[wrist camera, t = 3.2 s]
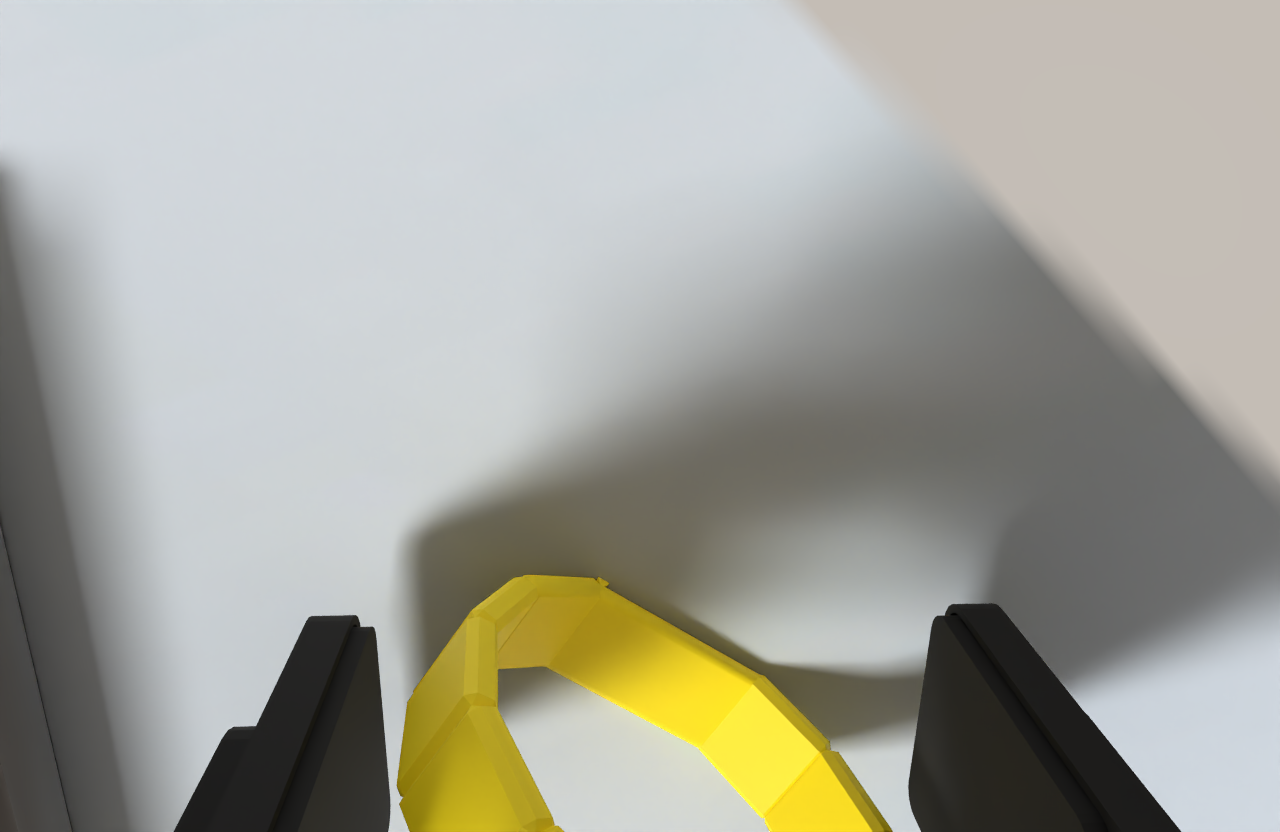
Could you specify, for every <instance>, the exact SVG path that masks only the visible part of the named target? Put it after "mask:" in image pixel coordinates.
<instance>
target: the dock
mask: <svg viewBox="0 0 1280 832" xmlns="http://www.w3.org/2000/svg"><path fill="white" fill-rule="evenodd" d="M0 832H72V830H71V825H70V821H69V817H68V812H67V808H66V804H65V800H64V795H63V791H62V787H61V783H60V778H59V774H58V770H57V765H56V761H55V757H54V753H53V748H52V744H51V740H50V735H49V731H48V727H47V723H46V718H45V714H44V710H43V705H42V701H41V697H40V693H39V688H38V684H37V680H36V675H35V671H34V667H33V663H32V658H31V654H30V650H29V646H28V641H27V637H26V633H25V628H24V624H23V620H22V616H21V611H20V607H19V603H18V598H17V594H16V590H15V586H14V581H13V577H12V573H11V568H10V564H9V560H8V556H7V551H6V547H5V543H4V538H3V534H2V530H1V526H0Z"/></svg>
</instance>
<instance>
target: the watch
mask: <svg viewBox="0 0 1280 832" xmlns="http://www.w3.org/2000/svg"><path fill="white" fill-rule="evenodd" d="M608 585H609V583H608V582H607V581H605V580H603V579H601V578H600V577H598V578H597V580H595V579H594V578H585V577H566V576H547V575H523V577H514V578H513V579H511V580H510V581H509V582H507V583H506V584H505V585H504V586H502V587H501V588H500V589H498V590H497V591H496V592H494V593H493V594H492V595H491V596H489V597H488V598H487V599H485V600H484V601H483V602H481V603H480V604H479V605H477V606H476V607H475V608H474V609H472V610H471V612H470V613H469V614H468V616H467V617H466V619H465V620H464V621H463V623H462V624H461V625H460V627H459V628H458V630H457V631H456V632H455V634H454V635H453V637H452V638H451V639H450V641H449V642H448V643H447V645H446V646H445V648H444V649H443V650H442V652H441V653H440V655H439V656H438V657H437V659H436V660H435V661H434V663H433V664H432V666H431V667H430V668H429V670H428V671H427V673H426V674H425V675H424V677H423V678H422V679H421V681H420V682H419V684H418V685H417V686H416V688H415V689H414V691H413V695H412V696H411V698H410V699H409V700H408V702H407V709H406V717H405V724H404V732H403V740H402V747H401V755H400V763H399V770H398V778H397V788H398V791H399V794H400V796H402V797H403V798H402V800H401V802H400V804H399V805H400V808H401V810H402V813H403V815H404V818H405V821H406V823H407V826H408V829H409V831H410V832H564V831H563V830H562V829H561V828H560V827H559V826H554V825H555V824H554V821H553V817H552V815H551V813H550V811H549V809H548V807H547V805H546V803H545V802H544V800H543V798H542V796H541V794H540V792H539V790H538V788H537V786H536V784H535V782H534V780H533V778H532V776H531V774H530V772H529V770H528V768H527V766H526V764H525V762H524V760H523V758H522V756H521V754H520V752H519V750H518V748H517V746H516V744H515V742H514V740H513V738H512V736H511V734H510V732H509V730H508V728H507V727H506V725H505V723H504V721H503V719H502V717H501V715H500V713H499V711H498V669H510V668H526V667H541V666H545V667H546V668H548V669H550V670H552V671H554V672H556V673H558V674H560V675H562V676H563V677H565V678H567V679H569V680H571V681H573V682H575V683H577V684H578V685H580V686H582V687H584V688H586V689H588V690H590V691H592V692H594V693H595V694H597V695H599V696H601V697H603V698H605V699H607V700H609V701H611V702H612V703H614V704H616V705H618V706H620V707H622V708H624V709H626V710H628V711H629V712H631V713H633V714H635V715H637V716H639V717H641V718H643V719H645V720H646V721H648V722H650V723H652V724H654V725H656V726H658V727H660V728H662V729H663V730H665V731H667V732H669V733H671V734H673V735H675V736H677V737H679V738H680V739H682V740H684V741H686V742H688V743H690V744H692V745H694V746H696V747H697V748H699V750H700V751H701V752H702V753H703V754H704V755H705V757H706V758H707V759H708V760H709V761H710V762H711V763H712V764H713V765H714V766H715V768H716V769H717V770H718V771H719V772H720V773H721V774H722V775H723V776H724V777H725V779H726V780H727V781H728V782H729V783H730V784H731V785H732V786H733V787H734V788H735V790H736V791H737V792H738V793H739V794H740V795H741V796H742V797H743V798H744V799H745V800H746V802H747V803H748V804H749V805H750V806H751V807H752V808H753V809H754V810H755V811H756V813H757V814H758V815H759V816H760V817H761V818H765V824H766V825H767V827H768V829H769V831H770V832H893V831H892V829H891V828H890V826H889V825H888V823H887V822H886V821H885V819H884V818H883V816H882V815H881V813H880V812H879V810H878V809H877V807H876V806H875V805H874V803H873V802H872V800H871V799H870V797H869V796H868V794H867V793H866V791H865V790H864V789H863V787H862V786H861V784H860V783H859V781H858V780H857V778H856V777H855V775H854V774H853V773H852V771H851V770H850V768H849V767H848V765H847V764H846V762H845V761H844V759H843V758H842V757H841V755H840V754H839V752H835V751H831V748H830V741H829V740H828V739H827V738H826V737H825V736H824V735H823V734H822V733H821V732H820V731H819V730H818V729H817V728H816V727H815V726H814V725H813V724H812V723H811V722H810V721H809V720H808V719H807V718H806V717H805V716H804V715H803V714H802V713H801V712H800V711H799V710H798V709H797V708H796V707H795V706H794V705H793V704H792V703H791V702H790V701H789V700H788V699H787V698H786V697H785V696H784V695H783V694H782V693H781V692H780V691H779V690H778V689H777V688H776V687H775V686H774V685H773V684H772V683H771V682H770V681H769V680H768V679H767V678H766V677H765V676H764V675H760V674H758V673H756V672H754V671H753V670H751V669H749V668H747V667H745V666H744V665H742V664H740V663H738V662H737V661H735V660H733V659H731V658H730V657H728V656H726V655H724V654H723V653H721V652H719V651H717V650H715V649H714V648H712V647H710V646H708V645H707V644H705V643H703V642H701V641H700V640H698V639H696V638H694V637H693V636H691V635H689V634H687V633H686V632H684V631H682V630H680V629H678V628H677V627H675V626H673V625H671V624H670V623H668V622H666V621H664V620H663V619H661V618H659V617H657V616H656V615H654V614H652V613H650V612H648V611H647V610H645V609H643V608H641V607H640V606H638V605H636V604H634V603H633V602H631V601H629V600H627V599H626V598H624V597H622V596H620V595H618V594H617V593H615V592H613V591H611V590H610V589H608V588H606V587H607V586H608Z"/></svg>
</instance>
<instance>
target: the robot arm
mask: <svg viewBox="0 0 1280 832" xmlns="http://www.w3.org/2000/svg"><path fill="white" fill-rule="evenodd" d="M908 789H909V800H910V805H911V809H912V812H913V815H914V817H915V819H916V821H917V824H918V826H919V828H920V830H921V832H1181V831H1180V830H1179V828H1178V827H1177V826H1176V825H1175V823H1174V822H1173V821H1172V820H1171V818H1170V817H1169V816H1168V815H1167V813H1166V812H1165V811H1164V810H1163V808H1162V807H1161V806H1160V805H1159V803H1158V802H1157V801H1156V800H1155V798H1154V797H1153V796H1152V795H1151V793H1150V792H1149V791H1148V790H1147V788H1146V787H1145V786H1144V785H1143V783H1142V782H1141V781H1140V780H1139V778H1138V777H1137V776H1136V775H1135V773H1134V772H1133V771H1132V770H1131V769H1130V767H1129V766H1128V765H1127V764H1126V762H1125V761H1124V760H1123V759H1122V757H1121V756H1120V755H1119V754H1118V752H1117V751H1116V750H1115V749H1114V747H1113V746H1112V745H1111V744H1110V742H1109V741H1108V740H1107V739H1106V737H1105V736H1104V735H1103V734H1102V732H1101V731H1100V730H1099V729H1098V727H1097V726H1096V725H1095V724H1094V722H1093V721H1092V720H1091V719H1090V717H1089V716H1088V715H1087V714H1086V713H1085V712H1084V711H1083V710H1082V709H1081V707H1080V706H1079V705H1078V704H1077V702H1076V701H1075V700H1074V699H1073V697H1072V696H1071V695H1070V694H1069V692H1068V691H1067V690H1066V689H1065V687H1064V686H1063V685H1062V684H1061V682H1060V681H1059V680H1058V679H1057V677H1056V676H1055V675H1054V674H1053V672H1052V671H1051V670H1050V669H1049V667H1048V666H1047V665H1046V664H1045V662H1044V661H1043V660H1042V659H1041V657H1040V656H1039V655H1038V654H1037V652H1036V651H1035V650H1034V649H1033V647H1032V646H1031V645H1030V644H1029V642H1028V641H1027V640H1026V639H1025V637H1024V636H1023V635H1022V634H1021V632H1020V631H1019V630H1018V629H1017V627H1016V626H1015V625H1014V624H1013V622H1012V621H1011V620H1010V619H1009V617H1008V616H1007V615H1006V614H1005V612H1004V611H1003V610H1002V609H1001V608H1000V607H999V606H998V605H997V604H992V603H989V604H952V605H950V606H949V607H948V609H947V611H946V613H945V616H937V617H935V619H934V620H933V623H932V627H931V634H930V641H929V648H928V655H927V661H926V668H925V675H924V682H923V689H922V695H921V702H920V709H919V716H918V722H917V729H916V736H915V743H914V750H913V756H912V763H911V770H910V777H909V786H908ZM389 821H390V791H389V779H388V768H387V756H386V745H385V733H384V721H383V710H382V698H381V687H380V675H379V664H378V652H377V640H376V633H375V629H374V628H373V627H360V622H359V619H358V617H357V616H356V615H345V616H311V617H309V618H308V620H307V621H306V623H305V625H304V627H303V629H302V631H301V633H300V636H299V638H298V640H297V642H296V644H295V646H294V648H293V650H292V652H291V654H290V656H289V659H288V661H287V663H286V665H285V667H284V669H283V671H282V673H281V675H280V677H279V679H278V682H277V684H276V686H275V688H274V690H273V692H272V694H271V696H270V698H269V700H268V702H267V705H266V707H265V709H264V711H263V713H262V715H261V717H260V719H259V721H258V723H257V726H249V727H233V728H231V729H229V730H228V731H227V732H226V734H225V735H224V737H223V738H222V740H221V742H220V743H219V745H218V747H217V749H216V751H215V753H214V755H213V757H212V759H211V761H210V763H209V765H208V767H207V768H206V770H205V772H204V774H203V776H202V778H201V780H200V782H199V784H198V786H197V788H196V790H195V792H194V793H193V795H192V797H191V799H190V801H189V803H188V805H187V807H186V809H185V811H184V813H183V815H182V817H181V818H180V820H179V822H178V824H177V826H176V828H175V830H174V832H388V829H389Z"/></svg>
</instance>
